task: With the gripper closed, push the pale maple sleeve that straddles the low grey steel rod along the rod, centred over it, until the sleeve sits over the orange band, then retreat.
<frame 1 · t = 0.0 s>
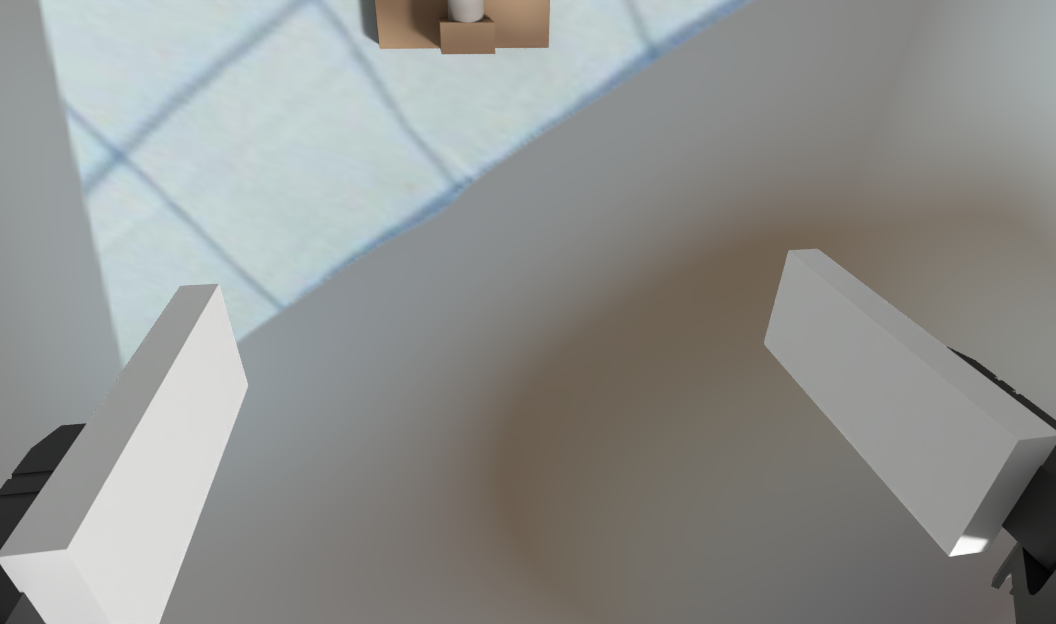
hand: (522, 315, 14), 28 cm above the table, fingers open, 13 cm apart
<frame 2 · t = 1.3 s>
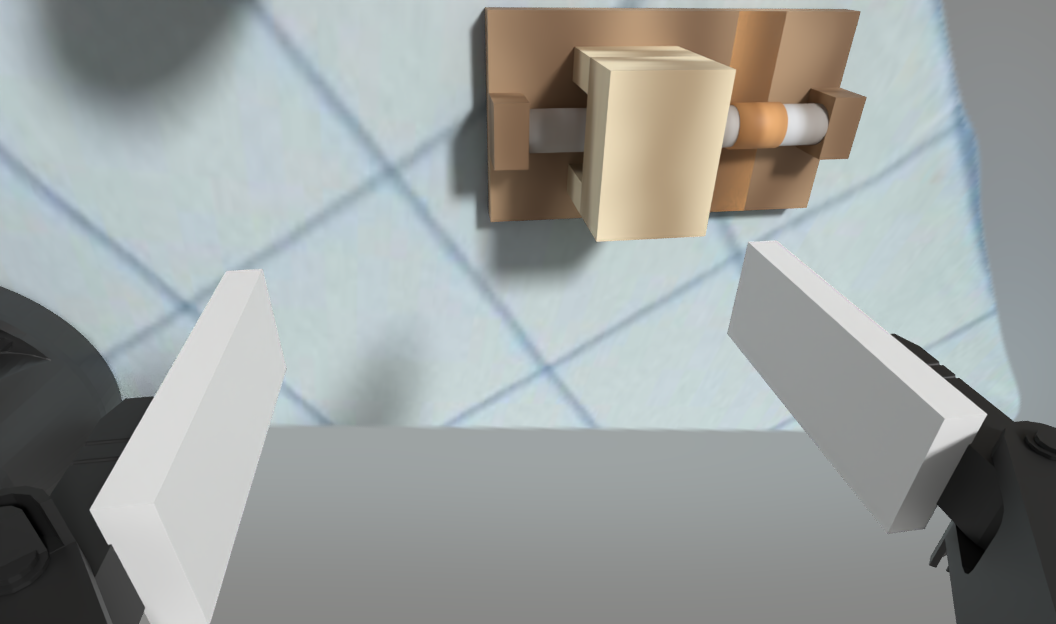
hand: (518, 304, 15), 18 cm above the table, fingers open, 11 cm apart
rail: (659, 115, 31), on the table
collar: (619, 122, 30), point 1 cm above the table, touching rail
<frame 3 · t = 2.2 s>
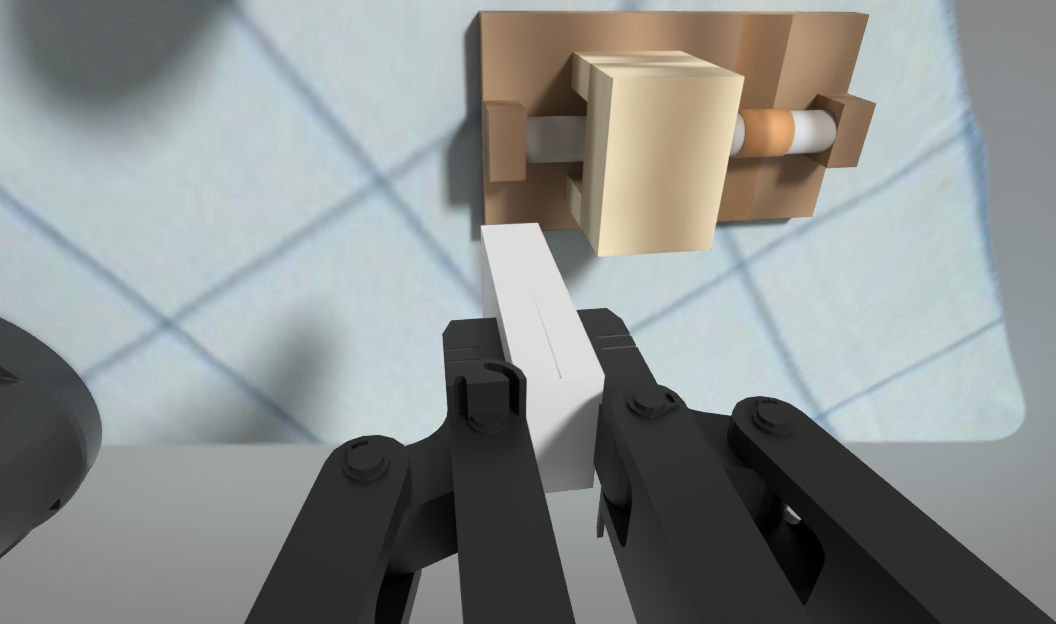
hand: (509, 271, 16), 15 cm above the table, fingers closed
rail: (660, 122, 30), on the table
collar: (619, 130, 29), point 1 cm above the table, touching rail
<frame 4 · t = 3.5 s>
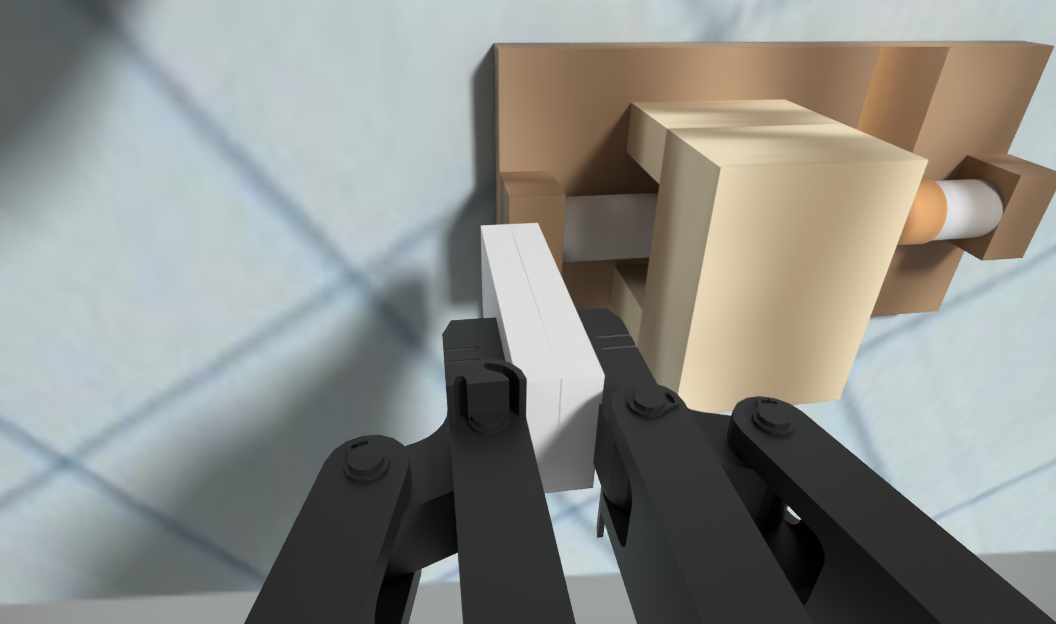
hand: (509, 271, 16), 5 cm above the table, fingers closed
rail: (744, 192, 22), on the table
collar: (691, 208, 20), point 1 cm above the table, touching rail
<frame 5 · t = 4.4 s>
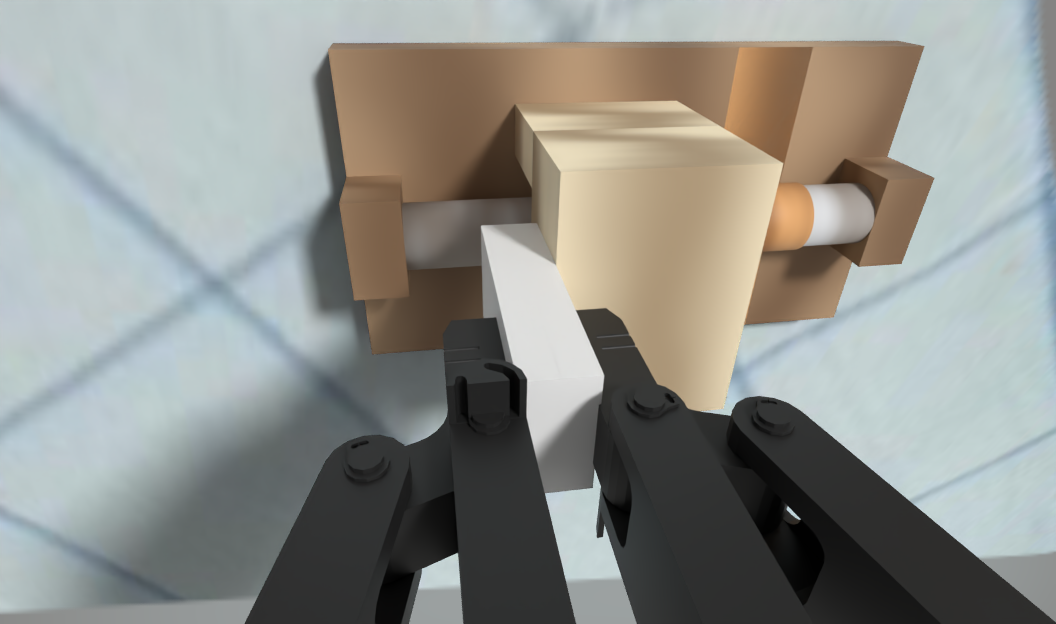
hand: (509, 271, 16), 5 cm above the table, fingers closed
rail: (620, 197, 21), on the table
collar: (589, 212, 20), point 1 cm above the table, touching gripper, rail
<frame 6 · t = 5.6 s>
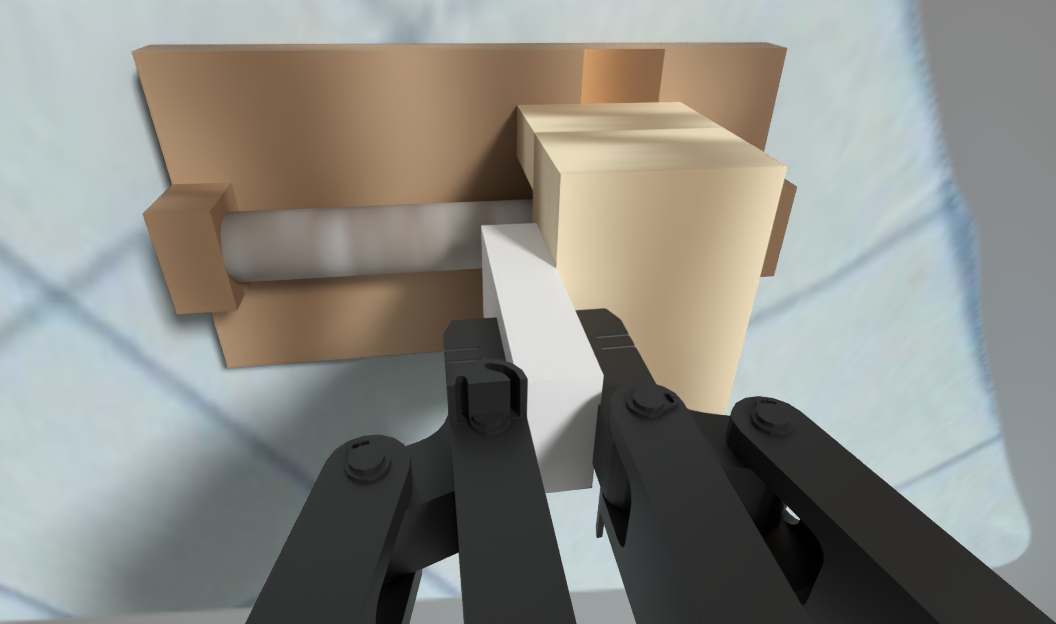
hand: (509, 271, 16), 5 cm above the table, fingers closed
rail: (484, 205, 20), on the table
collar: (591, 214, 20), point 1 cm above the table, touching gripper, rail
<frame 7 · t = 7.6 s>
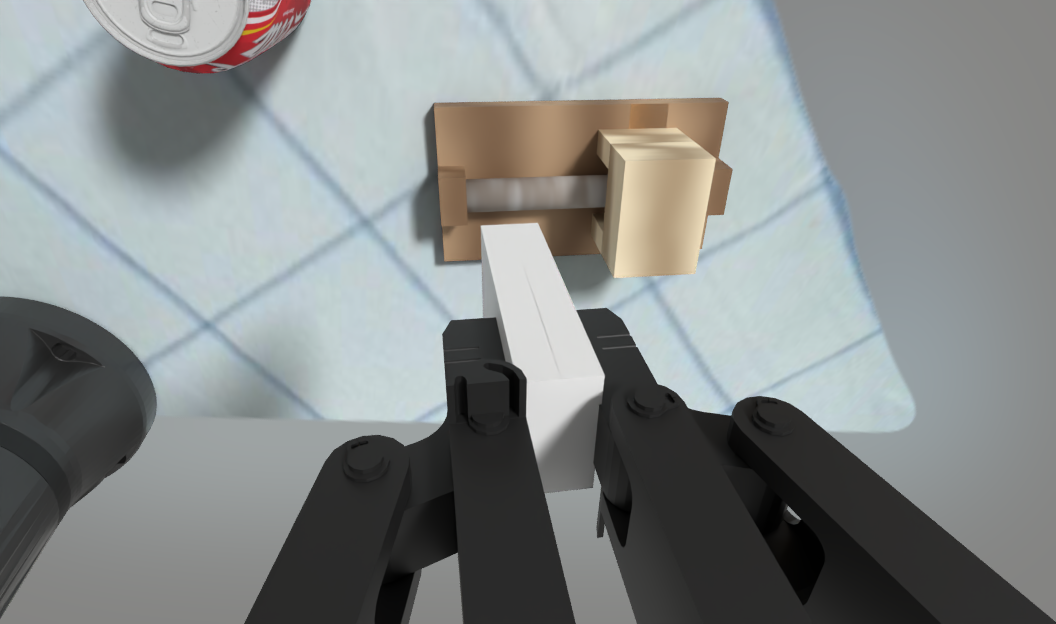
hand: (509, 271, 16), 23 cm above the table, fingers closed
rail: (576, 178, 40), on the table
collar: (631, 183, 39), point 1 cm above the table, touching rail
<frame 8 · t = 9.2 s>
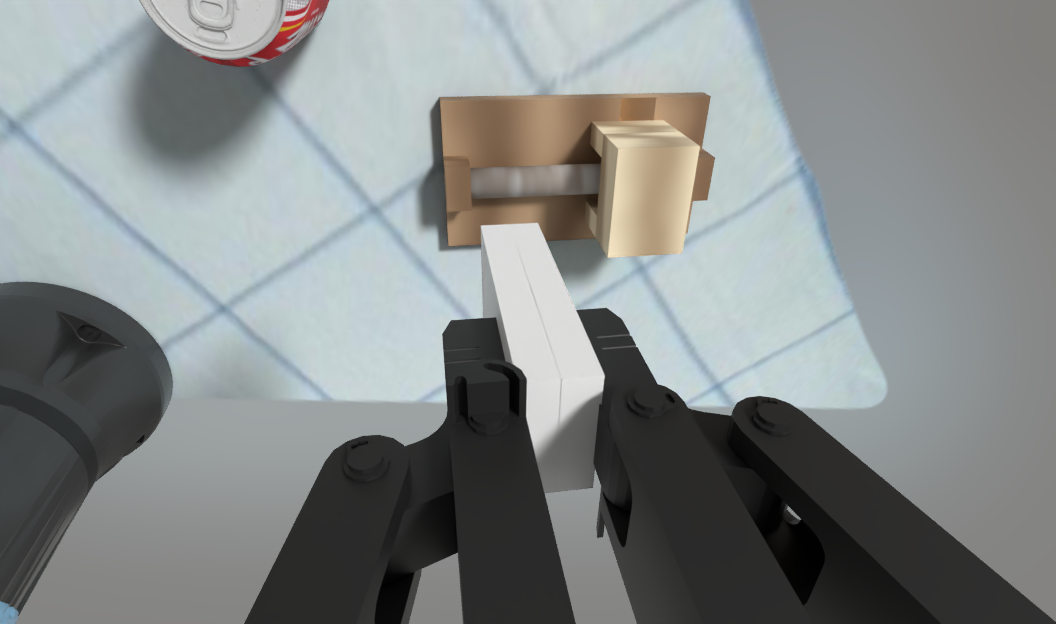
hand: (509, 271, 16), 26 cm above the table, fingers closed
rail: (571, 168, 43), on the table
collar: (622, 171, 42), point 1 cm above the table, touching rail
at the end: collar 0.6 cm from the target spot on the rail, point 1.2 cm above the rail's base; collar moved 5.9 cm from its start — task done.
